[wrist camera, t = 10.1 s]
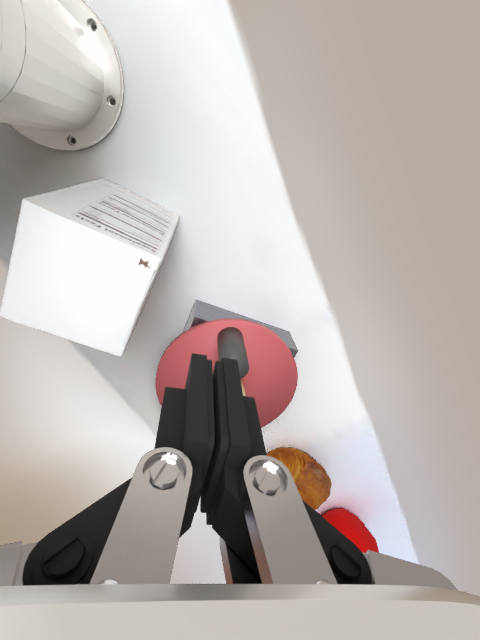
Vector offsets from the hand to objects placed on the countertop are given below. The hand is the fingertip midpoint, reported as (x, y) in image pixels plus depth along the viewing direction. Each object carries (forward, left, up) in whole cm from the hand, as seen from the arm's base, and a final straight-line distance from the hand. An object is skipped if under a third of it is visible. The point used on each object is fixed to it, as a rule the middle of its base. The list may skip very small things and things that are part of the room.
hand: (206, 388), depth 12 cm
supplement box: (-8, -4, -29) cm, 31 cm away
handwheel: (+9, -16, -24) cm, 30 cm away
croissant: (+30, -36, -30) cm, 55 cm away
